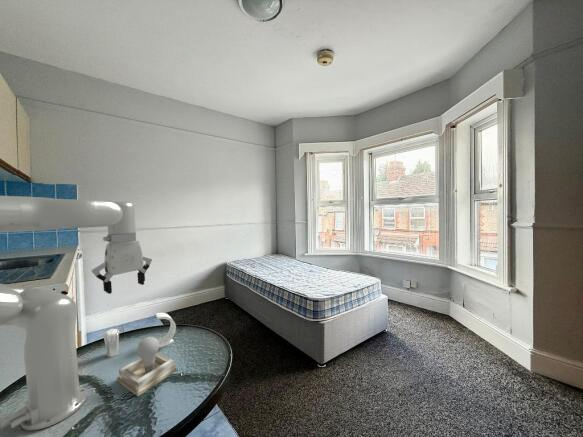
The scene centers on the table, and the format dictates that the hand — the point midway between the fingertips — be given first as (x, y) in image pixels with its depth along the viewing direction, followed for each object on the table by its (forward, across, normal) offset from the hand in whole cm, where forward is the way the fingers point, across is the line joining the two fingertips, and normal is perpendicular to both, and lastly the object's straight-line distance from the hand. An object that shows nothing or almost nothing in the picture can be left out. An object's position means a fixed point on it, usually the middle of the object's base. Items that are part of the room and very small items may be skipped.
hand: (125, 288), depth 80 cm
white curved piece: (+26, +13, +1) cm, 30 cm away
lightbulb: (+25, +1, -12) cm, 28 cm away
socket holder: (+26, 0, -12) cm, 29 cm away
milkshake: (+26, -1, +10) cm, 28 cm away
